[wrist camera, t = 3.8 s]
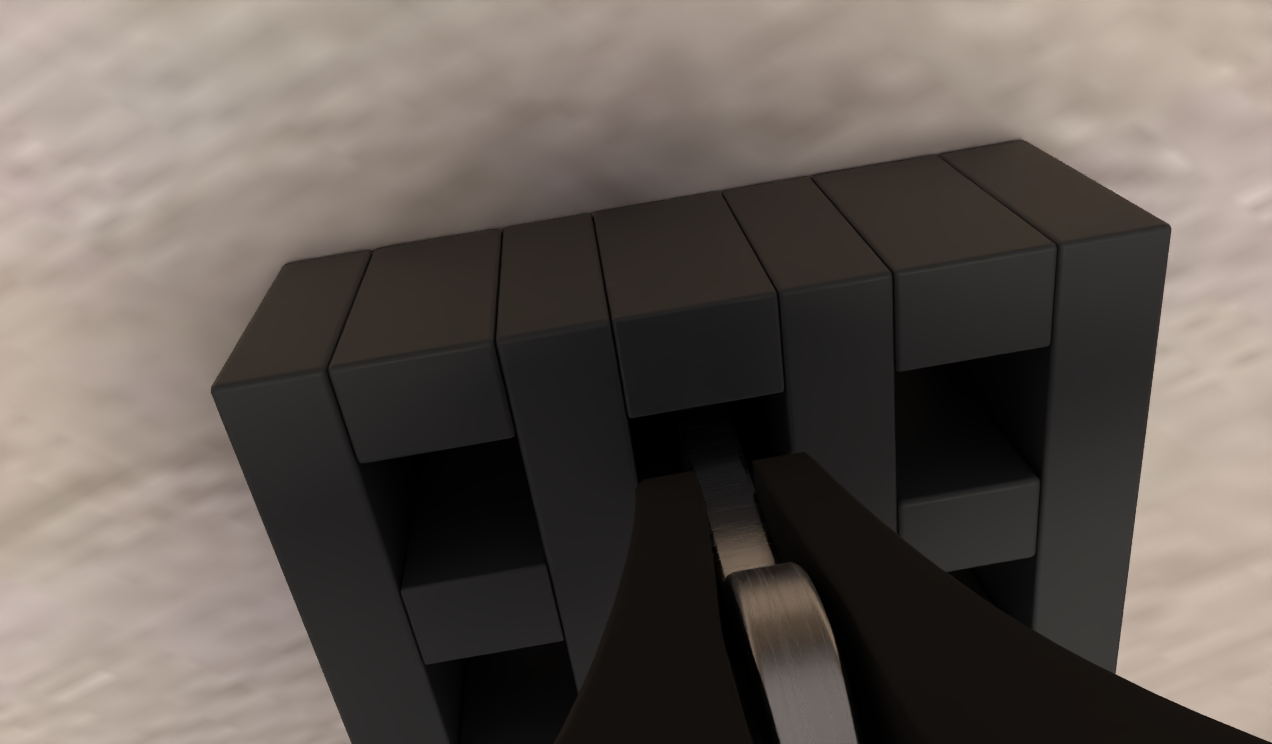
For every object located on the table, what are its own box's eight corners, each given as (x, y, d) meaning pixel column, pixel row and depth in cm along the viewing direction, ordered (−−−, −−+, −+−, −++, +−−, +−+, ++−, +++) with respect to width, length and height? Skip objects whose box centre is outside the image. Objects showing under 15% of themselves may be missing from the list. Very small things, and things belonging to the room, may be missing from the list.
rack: (414, 656, 19) (388, 841, 15) (281, 263, 15) (206, 388, 12) (1005, 552, 19) (1112, 710, 16) (1025, 138, 15) (1175, 224, 12)
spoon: (670, 447, 17) (819, 1077, 8) (642, 261, 15) (791, 800, 6) (711, 440, 17) (903, 1060, 8) (687, 253, 15) (896, 781, 6)
